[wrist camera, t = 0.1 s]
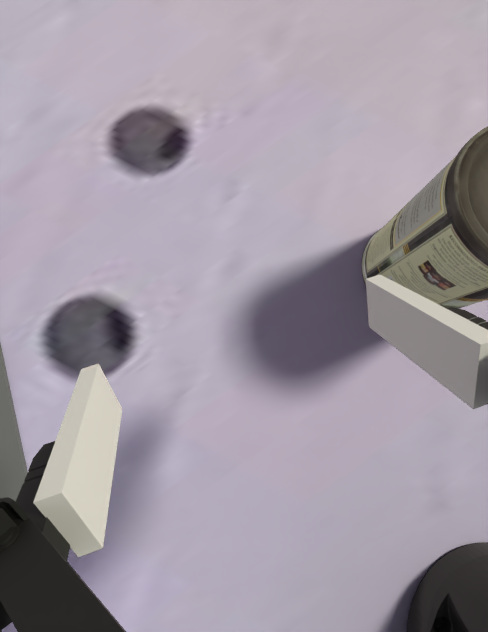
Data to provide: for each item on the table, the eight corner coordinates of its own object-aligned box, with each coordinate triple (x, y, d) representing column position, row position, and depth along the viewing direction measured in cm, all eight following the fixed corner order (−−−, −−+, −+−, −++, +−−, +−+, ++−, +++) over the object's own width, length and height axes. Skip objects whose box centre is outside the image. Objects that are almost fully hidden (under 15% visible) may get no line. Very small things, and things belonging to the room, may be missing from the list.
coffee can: (470, 239, 35) (633, 148, 21) (449, 334, 33) (613, 303, 19) (375, 207, 35) (474, 94, 21) (348, 299, 33) (437, 243, 19)
